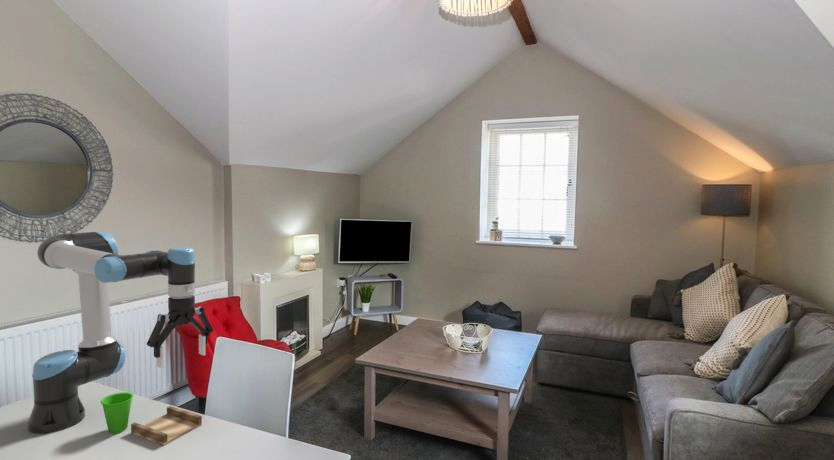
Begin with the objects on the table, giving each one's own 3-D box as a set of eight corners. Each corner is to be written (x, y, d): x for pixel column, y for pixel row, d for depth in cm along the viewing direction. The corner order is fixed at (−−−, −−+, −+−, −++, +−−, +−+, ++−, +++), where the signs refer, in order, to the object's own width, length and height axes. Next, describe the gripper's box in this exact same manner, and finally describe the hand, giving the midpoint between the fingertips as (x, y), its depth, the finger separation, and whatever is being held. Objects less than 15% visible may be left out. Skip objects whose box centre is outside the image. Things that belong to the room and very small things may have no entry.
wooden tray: (131, 433, 145) (130, 424, 144) (169, 414, 158) (169, 405, 157) (164, 445, 138) (163, 435, 138) (201, 425, 151) (201, 416, 151)
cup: (117, 438, 141) (117, 406, 141) (94, 434, 143) (93, 402, 142) (140, 424, 150) (139, 393, 149) (118, 421, 152) (117, 390, 151)
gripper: (145, 305, 127) (146, 375, 129) (224, 291, 148) (224, 352, 150) (133, 301, 131) (134, 369, 133) (211, 288, 152) (211, 347, 154)
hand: (181, 360), depth 141 cm, fingers open, 13 cm apart
